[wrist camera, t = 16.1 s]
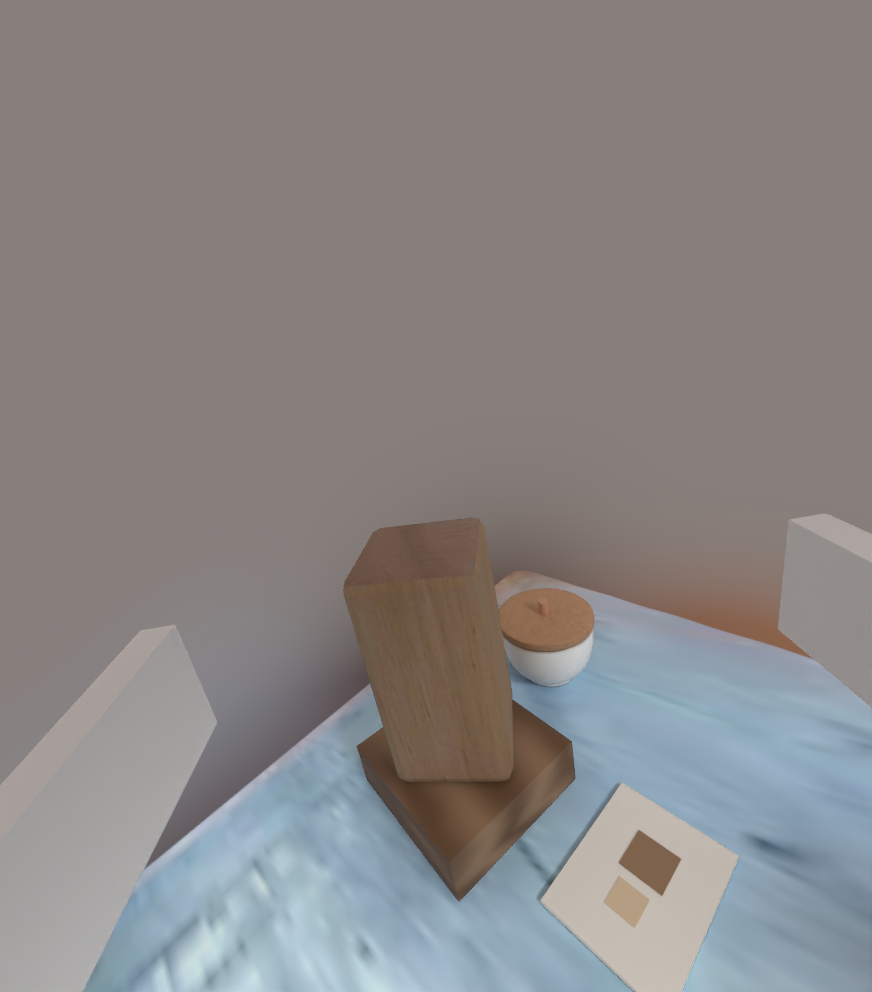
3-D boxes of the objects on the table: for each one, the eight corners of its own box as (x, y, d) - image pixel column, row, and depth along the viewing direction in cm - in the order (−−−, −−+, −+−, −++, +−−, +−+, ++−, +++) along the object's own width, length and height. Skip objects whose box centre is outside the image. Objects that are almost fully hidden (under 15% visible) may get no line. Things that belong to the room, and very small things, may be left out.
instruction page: (622, 784, 41) (622, 781, 41) (738, 858, 34) (739, 855, 34) (540, 903, 34) (540, 899, 34) (667, 1024, 27) (668, 1020, 27)
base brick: (473, 702, 53) (466, 667, 52) (575, 782, 42) (571, 741, 41) (368, 783, 46) (356, 746, 44) (460, 905, 35) (449, 862, 33)
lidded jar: (618, 678, 52) (614, 608, 49) (535, 717, 49) (526, 645, 46) (561, 628, 62) (555, 567, 59) (489, 658, 59) (479, 595, 56)
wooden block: (396, 787, 40) (335, 585, 33) (416, 697, 49) (372, 524, 42) (515, 787, 38) (477, 572, 31) (513, 693, 47) (483, 511, 40)
